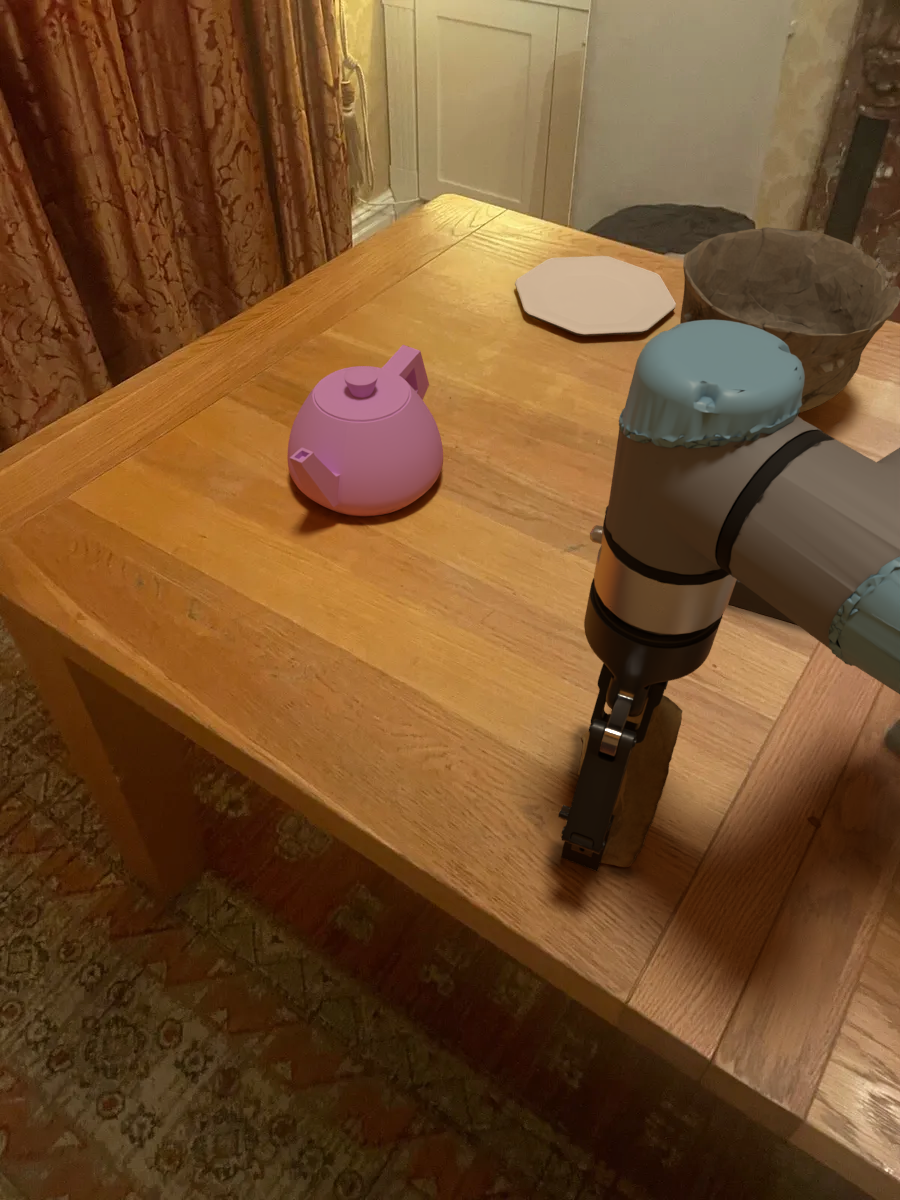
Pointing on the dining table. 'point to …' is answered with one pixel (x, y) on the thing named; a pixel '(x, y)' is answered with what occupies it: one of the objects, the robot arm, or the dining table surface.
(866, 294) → the bowl
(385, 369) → the teapot
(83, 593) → the dining table surface
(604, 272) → the plate
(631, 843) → the rock
